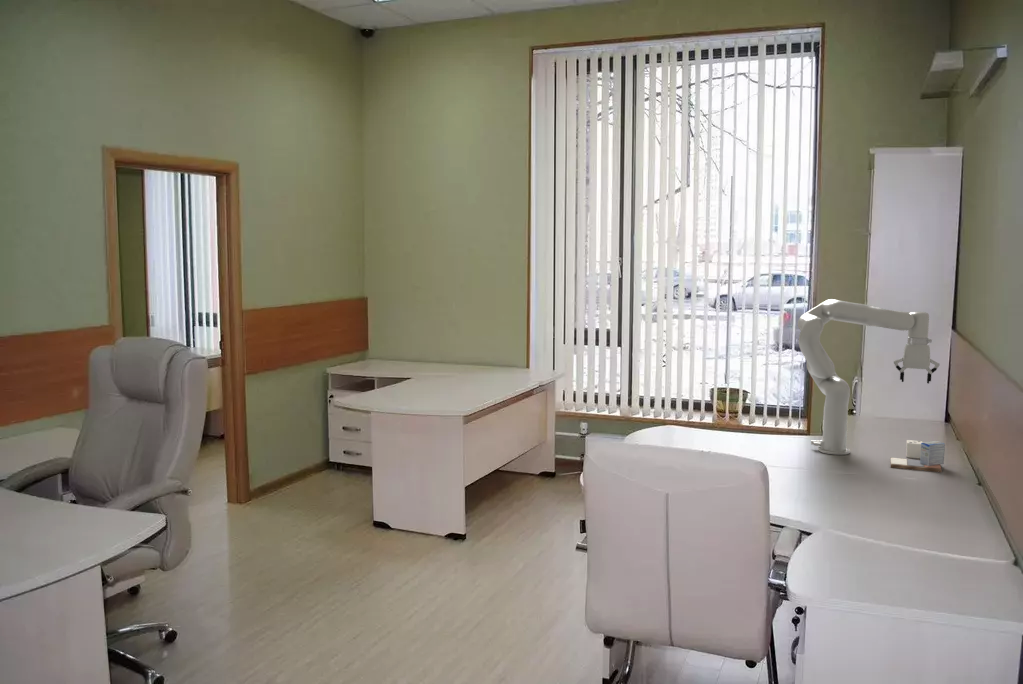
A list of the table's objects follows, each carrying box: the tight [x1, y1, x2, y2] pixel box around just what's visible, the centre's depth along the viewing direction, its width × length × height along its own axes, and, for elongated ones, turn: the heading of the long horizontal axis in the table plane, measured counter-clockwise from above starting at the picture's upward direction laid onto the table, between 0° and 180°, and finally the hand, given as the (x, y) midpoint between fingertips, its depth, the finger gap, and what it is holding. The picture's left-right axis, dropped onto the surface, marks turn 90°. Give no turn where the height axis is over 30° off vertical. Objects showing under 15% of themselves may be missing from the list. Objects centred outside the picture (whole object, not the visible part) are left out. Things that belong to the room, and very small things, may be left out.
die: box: [905, 439, 923, 459], centre depth 357 cm, size 6×6×6 cm
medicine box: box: [919, 440, 946, 466], centre depth 339 cm, size 8×4×9 cm, turn 110°
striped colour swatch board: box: [890, 457, 942, 473], centre depth 341 cm, size 18×12×1 cm, turn 66°
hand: (915, 382), depth 358 cm, fingers open, 9 cm apart
